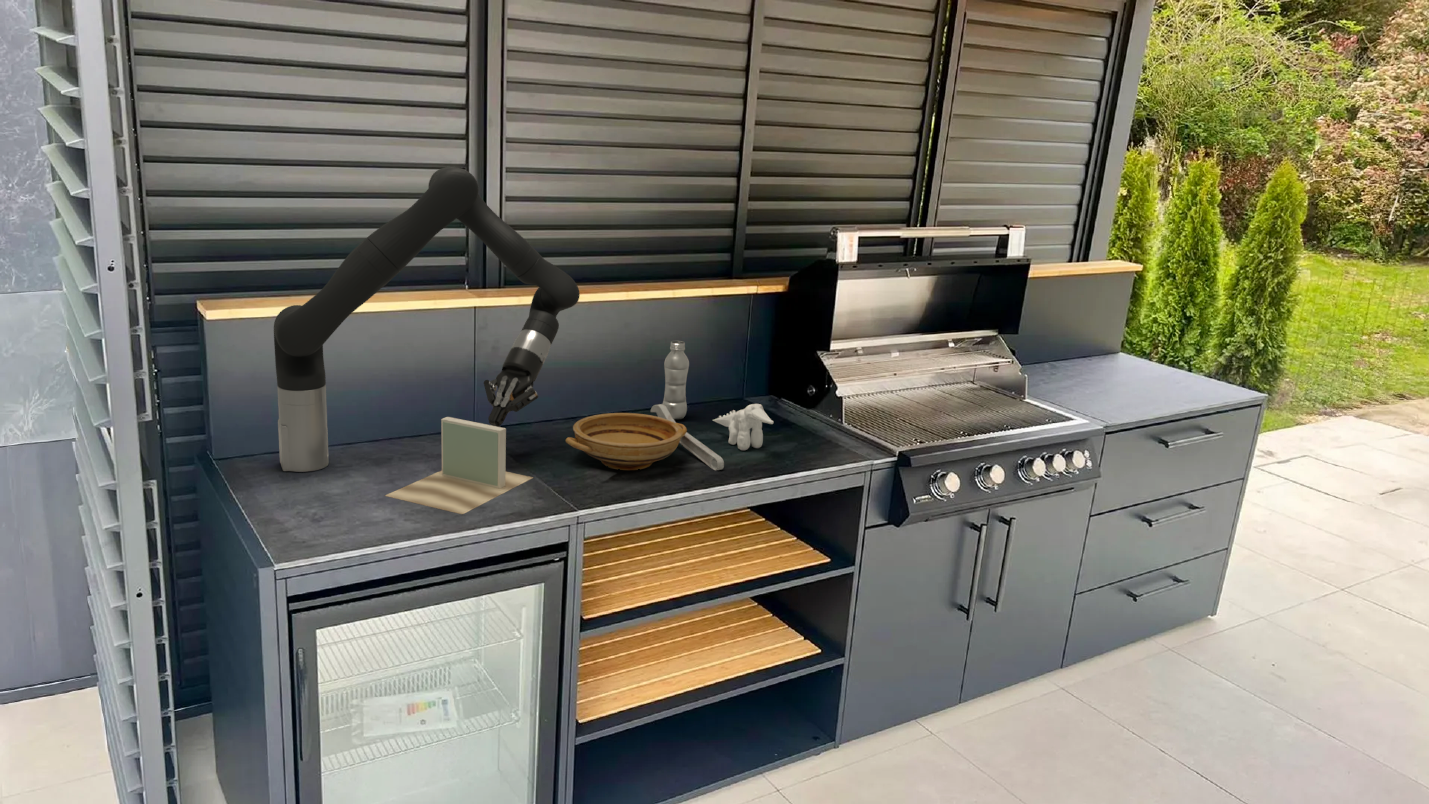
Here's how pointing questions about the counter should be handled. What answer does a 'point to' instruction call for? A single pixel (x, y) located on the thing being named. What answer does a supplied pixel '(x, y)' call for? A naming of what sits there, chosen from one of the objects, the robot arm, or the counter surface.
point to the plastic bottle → (676, 380)
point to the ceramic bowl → (626, 439)
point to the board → (454, 492)
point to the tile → (473, 452)
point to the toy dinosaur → (745, 426)
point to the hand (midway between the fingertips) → (493, 424)
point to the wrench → (692, 442)
